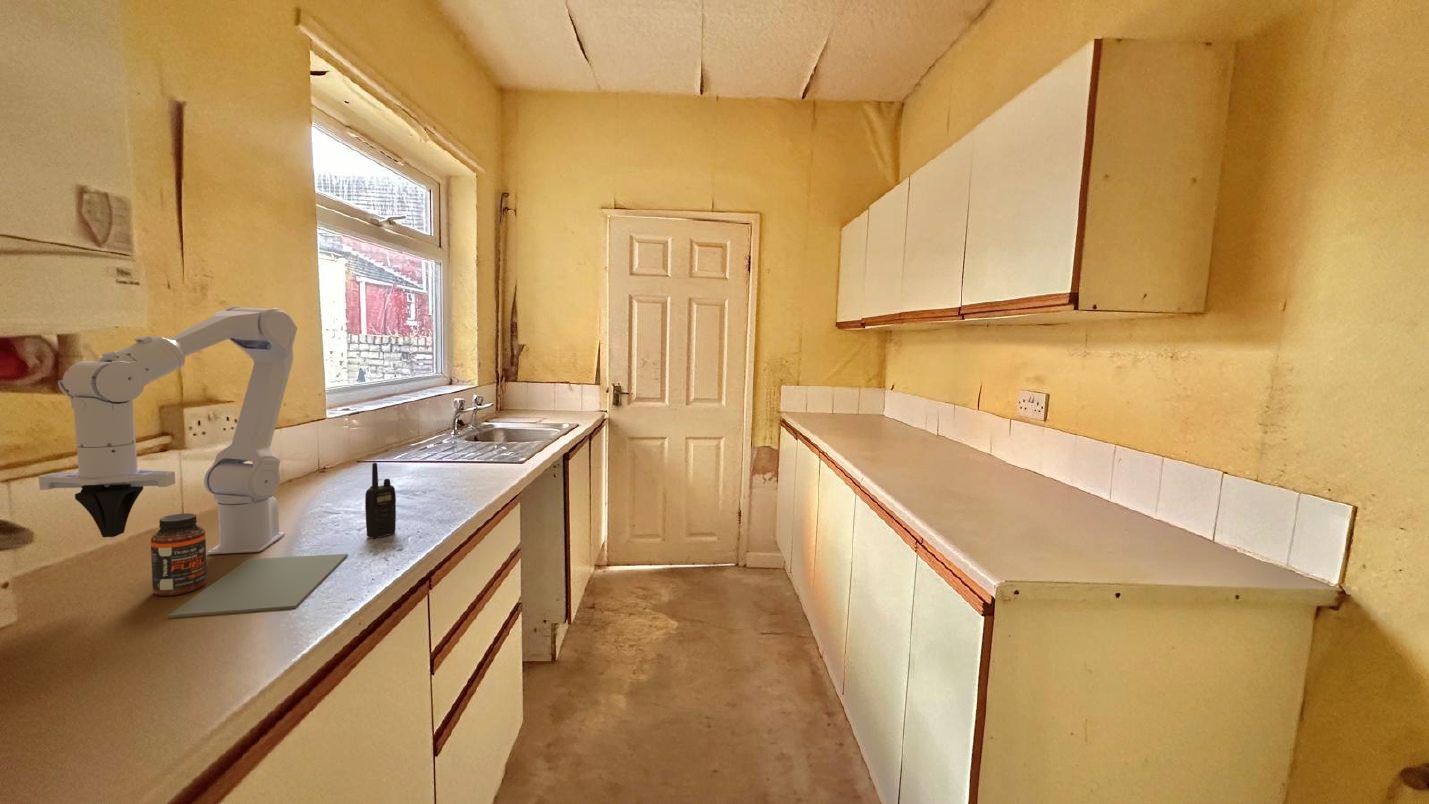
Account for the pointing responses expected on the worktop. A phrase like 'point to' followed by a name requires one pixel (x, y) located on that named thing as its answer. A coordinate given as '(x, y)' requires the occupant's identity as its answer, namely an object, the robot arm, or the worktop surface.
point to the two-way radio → (380, 507)
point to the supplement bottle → (178, 555)
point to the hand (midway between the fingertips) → (113, 534)
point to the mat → (262, 586)
